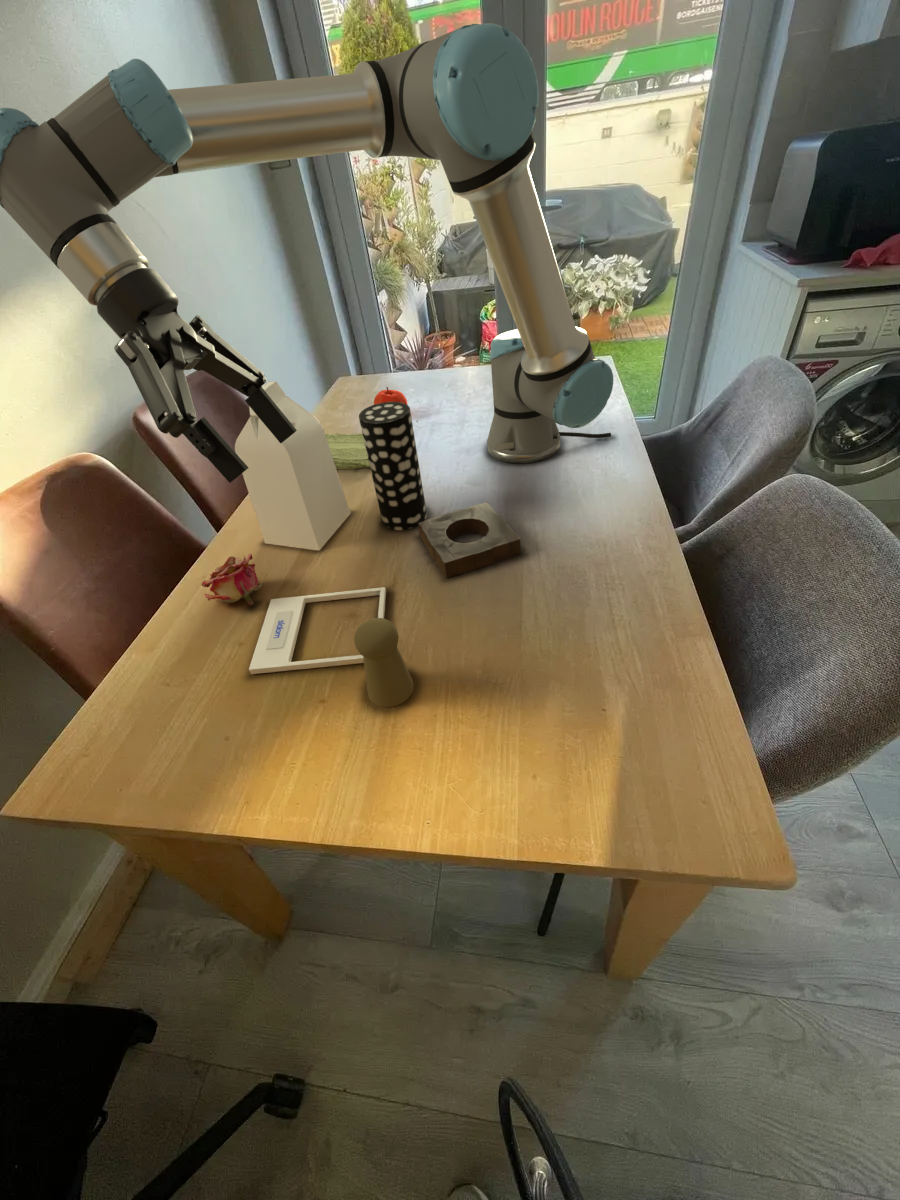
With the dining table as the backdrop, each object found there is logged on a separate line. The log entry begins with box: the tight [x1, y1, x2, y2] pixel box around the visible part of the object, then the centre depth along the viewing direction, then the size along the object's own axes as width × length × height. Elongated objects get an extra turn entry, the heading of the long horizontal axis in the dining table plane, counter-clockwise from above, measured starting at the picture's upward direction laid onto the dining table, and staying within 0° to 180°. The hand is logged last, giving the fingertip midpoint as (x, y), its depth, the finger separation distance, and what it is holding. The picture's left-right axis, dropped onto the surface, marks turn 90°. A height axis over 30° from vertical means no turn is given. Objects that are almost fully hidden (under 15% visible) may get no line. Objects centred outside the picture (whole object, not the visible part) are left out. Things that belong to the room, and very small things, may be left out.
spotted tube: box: [358, 402, 428, 531], centre depth 95 cm, size 8×8×20 cm
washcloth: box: [325, 432, 370, 470], centre depth 122 cm, size 13×18×3 cm
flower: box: [201, 553, 268, 607], centre depth 86 cm, size 10×9×8 cm
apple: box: [373, 386, 409, 406], centre depth 133 cm, size 8×8×8 cm
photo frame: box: [248, 586, 387, 675], centre depth 80 cm, size 15×1×18 cm
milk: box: [234, 380, 351, 552], centre depth 94 cm, size 12×12×26 cm
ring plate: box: [417, 501, 522, 579], centre depth 92 cm, size 13×13×3 cm
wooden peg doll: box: [353, 617, 415, 708], centre depth 67 cm, size 6×6×11 cm
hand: (266, 455), depth 66 cm, fingers open, 13 cm apart
